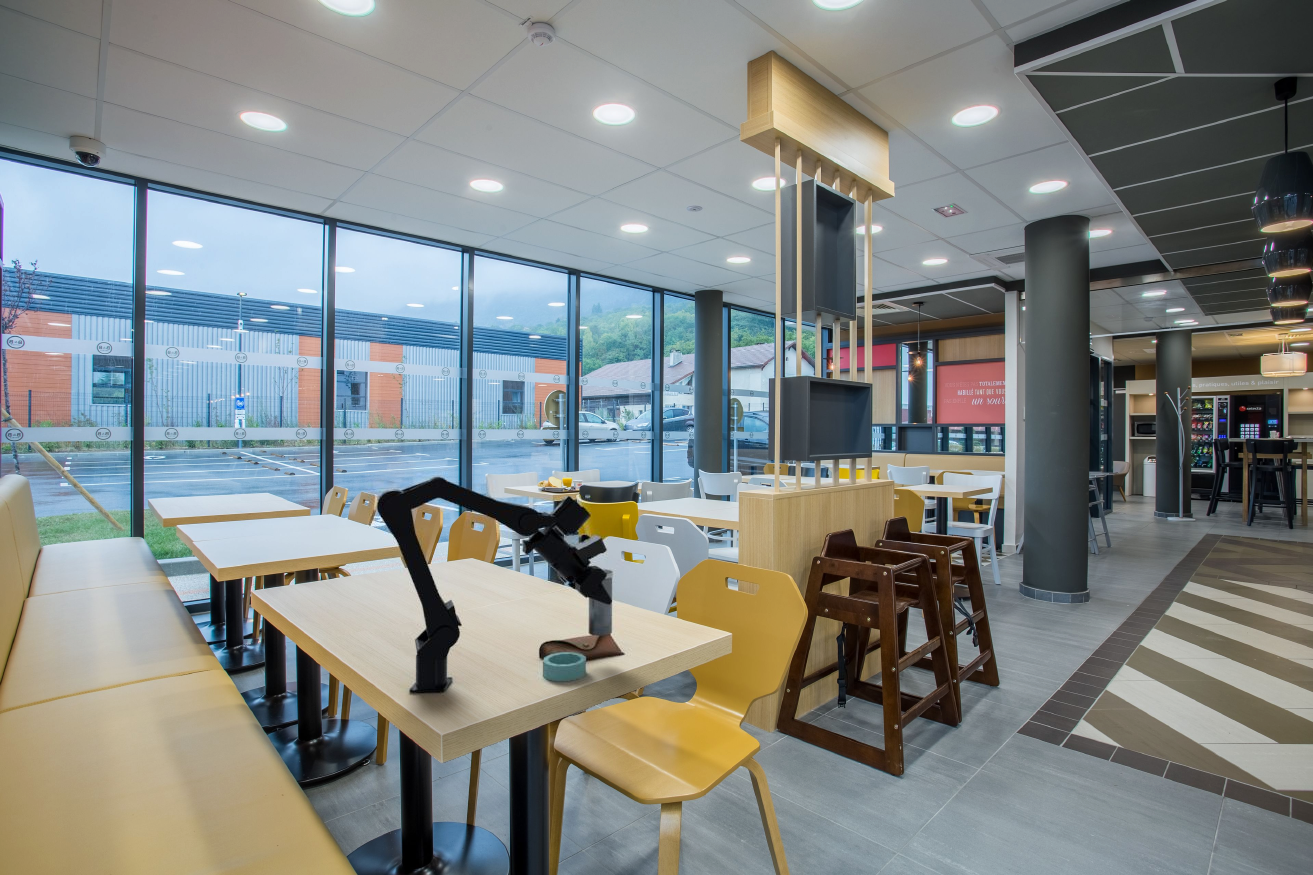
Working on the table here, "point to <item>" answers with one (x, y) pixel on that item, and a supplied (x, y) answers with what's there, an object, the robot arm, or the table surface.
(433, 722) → the table surface
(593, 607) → the cylinder
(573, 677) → the ring
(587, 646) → the sunglasses case
